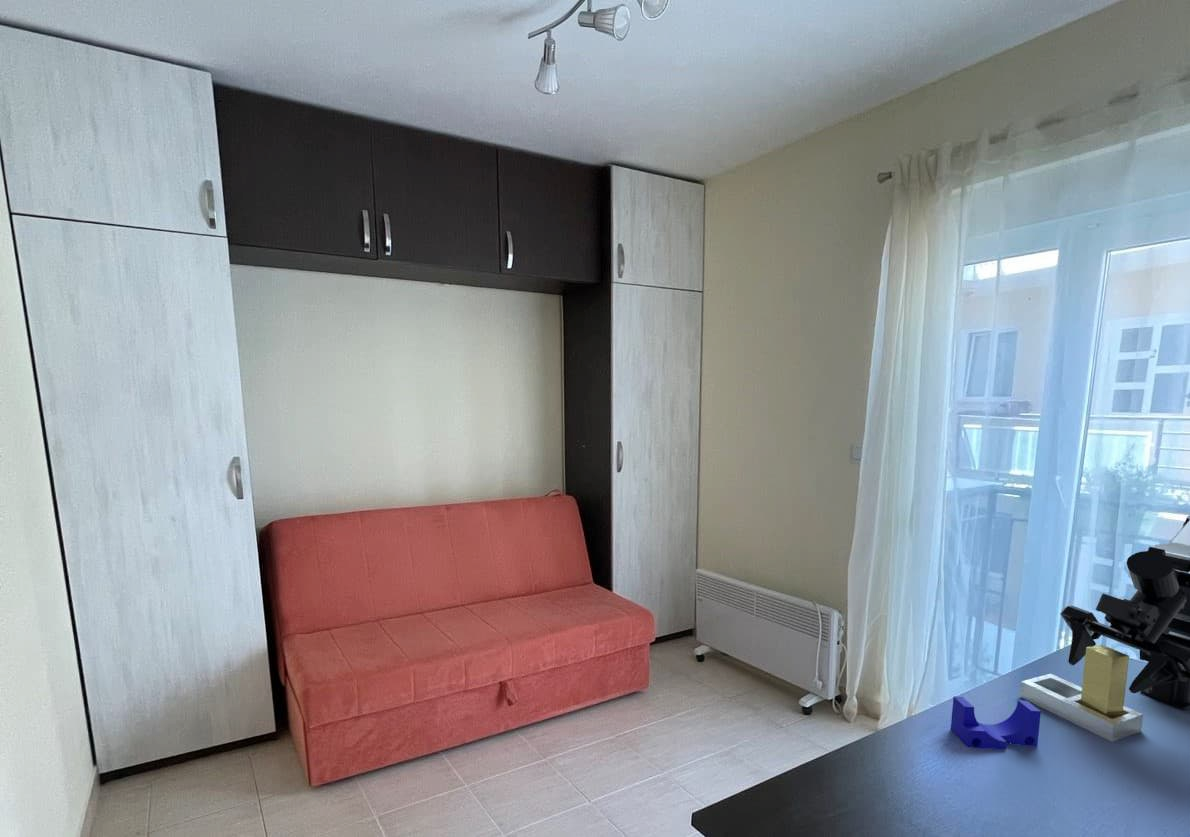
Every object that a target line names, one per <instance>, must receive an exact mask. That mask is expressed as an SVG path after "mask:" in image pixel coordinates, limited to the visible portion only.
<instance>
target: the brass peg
mask: <svg viewBox="0 0 1190 837" xmlns="http://www.w3.org/2000/svg"><path fill="white" fill-rule="evenodd" d="M1129 662H1130V655H1128V654H1125V653H1123V652H1121V651H1118V650H1115V649H1113V648H1111V647H1109V646H1106V645H1103V644H1100V645H1095V646H1091V647H1086V655H1085V656H1084V666H1083V674H1082V684H1081V685H1082V686H1081V687H1082V692H1081V701H1080V704H1081V705H1083V706H1085V707H1087V708H1089V709H1091V710H1094V711H1096V712H1098V713H1100V714H1102V715H1104V716H1107V717H1109V718H1111V719H1114V718H1117V717H1120V716H1123V708H1124V706H1125V698H1126V689H1127V688H1126V687H1127V680H1128V671H1129V670H1128V669H1129Z"/></svg>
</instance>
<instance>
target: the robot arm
mask: <svg viewBox="0 0 1190 837" xmlns="http://www.w3.org/2000/svg"><path fill="white" fill-rule="evenodd" d="M1126 567H1127V569H1128V573H1129V576H1130V579H1131V581H1132V584H1133V587H1134V589H1135V590H1136V592H1135V593H1134V594H1133V596H1132V597H1131V598H1130V600H1129V599H1127V598H1124V599H1121V598H1120V597H1115V596H1113V595H1110V594H1107V593H1102V594H1101V596H1100V598H1099V601H1098V602H1097V604H1096V605H1097V606H1096V608H1095V611H1097V612H1101V613H1102V614H1105V616H1104V620H1105V621H1106V622H1107V623H1109V624H1110V625H1107V624H1103V623H1101V622H1099V620H1098V619H1097V618H1096V616H1095V615H1094V613H1093V612H1091V611H1088V610H1085V609H1083V608H1080V607H1078V606H1074V605H1067V606H1066V607H1064V608H1063V610H1062V611H1061V612H1060V614H1059V615H1060V616H1061V617H1062V619H1063V621H1064V622H1065V623H1066V624H1067V627H1069V628H1070V630H1071V632H1072V633H1071V644H1070V649H1069V654H1068V660H1067V662H1068V663H1069V665H1071V666H1073V667H1074V666H1075V665H1076V664H1078V663H1079V662H1080V661H1081V660H1082V659H1083V658H1085V655H1086V647H1091V646H1097V643H1096V641H1095V640H1099V639H1100V637H1101V636H1103V637H1106V638H1108V639H1110V640H1113V641H1114V642H1118V643H1121V644H1122V645H1123V644H1124V646H1125V645H1126V646H1129V647H1131V648H1133V649H1136V650H1138V651H1139V660H1140V661H1145V662H1147V664H1146V665H1145V666H1144V667H1143V668H1142V669H1141V671H1140V672H1139V673H1138V674H1137V676H1136V677H1135V678H1134V679H1133V680H1132V681H1131V684H1130V686H1128V690H1129V692H1130V693H1131V694H1138V693H1142V694H1144V693H1145V694H1144V695H1146V694H1147V695H1146V696H1149V697H1151V696H1152V698H1154V699H1157V700H1159V701H1161V702H1164V703H1166V704H1168V705H1171V706H1174V707H1176V708H1178V709H1180V708H1182V709H1181V710H1186V709H1185V708H1188V707H1190V515H1187V517H1186V519H1185V520H1184V522H1183V524H1182V528H1181V529H1180V530H1178V532H1177V533H1176V535H1175V536H1174V537H1173V538H1172V539H1171V540H1170V541H1169V543H1159V544H1155V545H1153V546H1149V547H1148V549H1147V550H1145V551H1143V550H1142V551H1138V552H1136V553H1133V554H1131V555H1130V556H1129V557H1128V558H1127V559H1126ZM1140 691H1141V692H1140ZM1183 708H1184V709H1183ZM1188 709H1189V708H1188Z"/></svg>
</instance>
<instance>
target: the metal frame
mask: <svg viewBox="0 0 1190 837" xmlns="http://www.w3.org/2000/svg"><path fill="white" fill-rule="evenodd" d="M1020 683H1021V684H1020V692H1019V693H1020V694H1019V698H1022V699H1024V701H1028V702H1029V703H1031V704H1032V705H1035V706H1038V707H1039V708H1042V709H1044V710H1046V711H1048V712H1050V713H1052V714H1054V715H1056V716H1058V717H1060V718H1062V719H1063V720H1066V721H1069V722H1070V723H1072V724H1074V725H1076V726H1078V727H1080V728H1083V729H1084V730H1087V731H1088V732H1090V733H1092V734H1095V735H1096V736H1098V737H1100V738H1103V739H1104V740H1107V741H1109V742H1111V743H1113V742H1116V741H1119V740H1121V739H1124V738H1126V737H1129V736H1132V735H1135V734H1138V733H1140V732H1142V728H1143V719H1144V714H1143V713H1141V712H1140V711H1136V710H1134V709H1132V708H1130V707H1127V706H1125V705H1124V708H1123V716H1120V717H1117V718H1114V719H1111V718H1109V717H1107V716H1104V715H1102V714H1100V713H1098V712H1096V711H1094V710H1091V709H1089V708H1087V707H1085V706H1083V705H1081V704H1080V701H1081V692H1082V686H1080V685H1077V684H1075V683H1073V682H1070V681H1069V680H1066V679H1063V678H1061V677H1060V676H1057V675H1055V674H1053V673H1048V674H1045V675H1044V674H1043V675H1041V676H1035V677H1032V678H1029V679H1025V680H1022V681H1020Z"/></svg>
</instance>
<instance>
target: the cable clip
mask: <svg viewBox="0 0 1190 837" xmlns="http://www.w3.org/2000/svg"><path fill="white" fill-rule="evenodd" d="M951 711H952V712H951V720H950V721H951V722H950V731H951V732H952V733H953V734H954V735H955V736H956V737H957V738H958V739H959V740H960V742H962V744H964V745H965V746H966V747H967V748H973V747H974V748H977V749H989V748H991V749H992V750H1003V749H1006V750H1007V745H1012V744H1020V745H1019V746H1027V745H1029V746H1028V747H1030V746H1031V747H1033V746H1034V747H1038V743H1039V732H1040V723H1041V712H1042V711H1041V710H1040V709H1039V708H1037V707H1036V705H1035V706H1034V704H1033V703H1031V702H1029V701H1027V700H1020V699H1018V700H1017V703H1016V707H1015V709H1014V711H1013V712H1012V714H1011V715H1010V716H1009V717H1007V719H1004V720H1003V721H1001V722H998V723H993V724H986V723H985V724H984V723H981V722H978V721H977V718H976V715H975V707H974V705H972V704H971V703H970V702H969V701H968V700H967V699H966V698H965V697H963V696H956V695H954V696H953V699H952V709H951ZM1006 743H1008V744H1006ZM1010 743H1011V744H1010ZM991 749H990V750H991Z"/></svg>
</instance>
